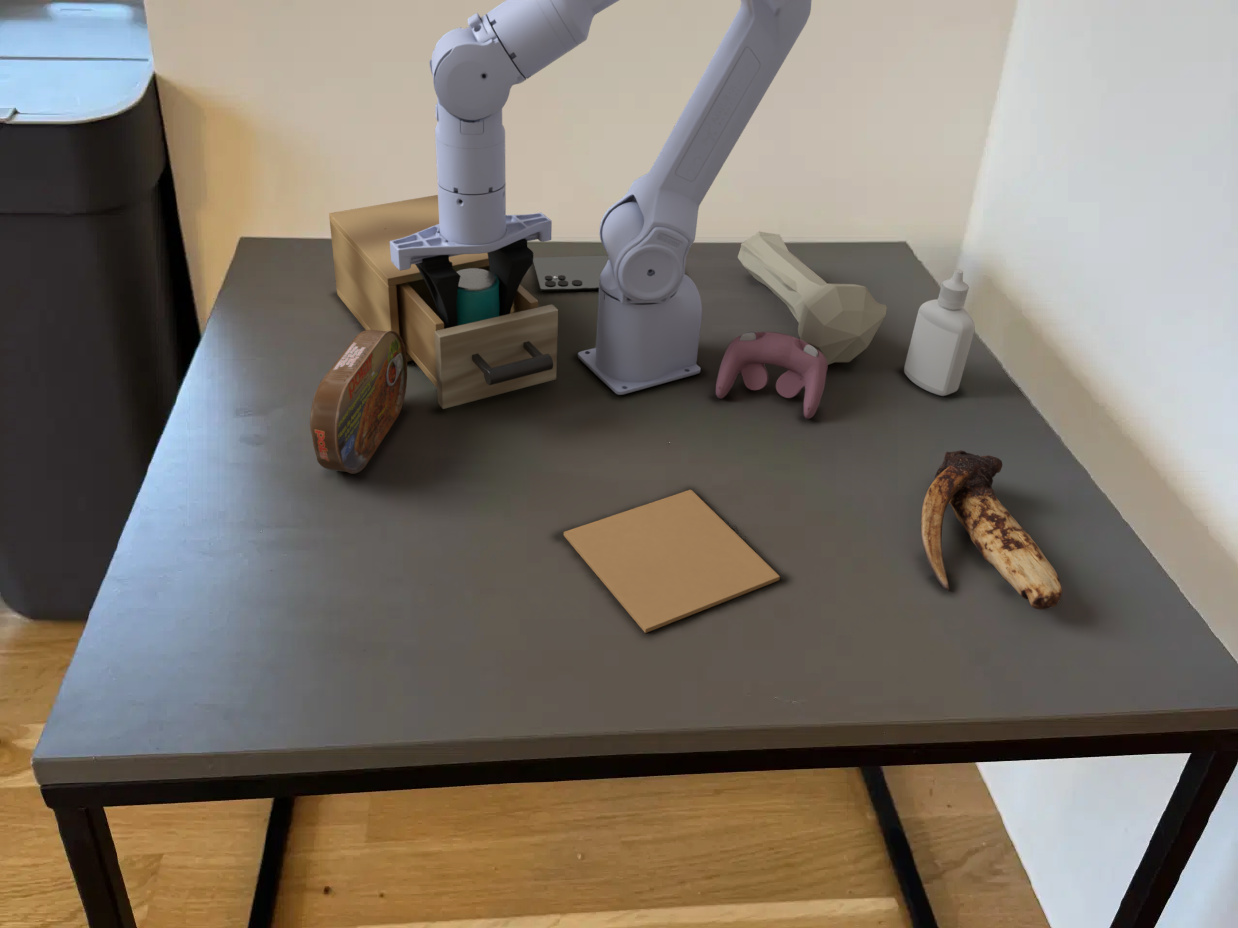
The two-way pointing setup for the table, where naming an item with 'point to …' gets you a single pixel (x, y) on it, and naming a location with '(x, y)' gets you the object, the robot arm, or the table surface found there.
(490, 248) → the robot arm
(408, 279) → the cabinet
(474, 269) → the can
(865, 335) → the faceted club
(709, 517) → the mat
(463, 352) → the drawer
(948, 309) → the eye dropper bottle
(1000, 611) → the table surface
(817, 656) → the table surface
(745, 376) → the video game controller
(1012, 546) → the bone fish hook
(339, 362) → the tin
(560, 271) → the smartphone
